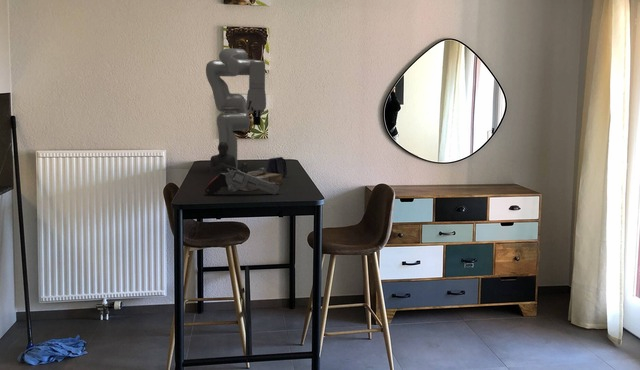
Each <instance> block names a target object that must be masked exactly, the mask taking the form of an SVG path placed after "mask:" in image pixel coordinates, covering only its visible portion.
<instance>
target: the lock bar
mask: <svg viewBox="0 0 640 370" xmlns="http://www.w3.org/2000/svg"><path fill="white" fill-rule="evenodd" d="M241 172H244V173H246V174H249V175H255V174H266V173H267V167H258V170H253V171H249V163H248V162H242V163H241Z"/></svg>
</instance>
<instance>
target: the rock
mask: <svg viewBox="0 0 640 370" xmlns="http://www.w3.org/2000/svg"><path fill="white" fill-rule="evenodd" d="M266 164H267V166H266V173H273V174H282V178H284V177H286V176H287V174H288V170H287V162H286V159H285V158H284V157H282V156H278V157H271V158H268V160H267V163H266Z"/></svg>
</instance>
